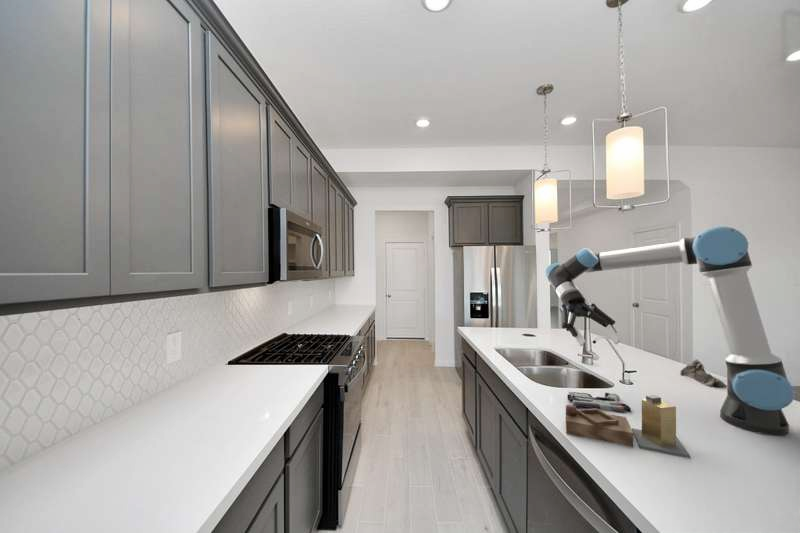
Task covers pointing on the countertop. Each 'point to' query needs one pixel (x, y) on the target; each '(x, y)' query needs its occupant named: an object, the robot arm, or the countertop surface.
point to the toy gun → (598, 402)
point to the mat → (651, 446)
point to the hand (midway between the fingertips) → (600, 343)
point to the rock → (701, 375)
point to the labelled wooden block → (658, 421)
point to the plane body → (598, 425)
